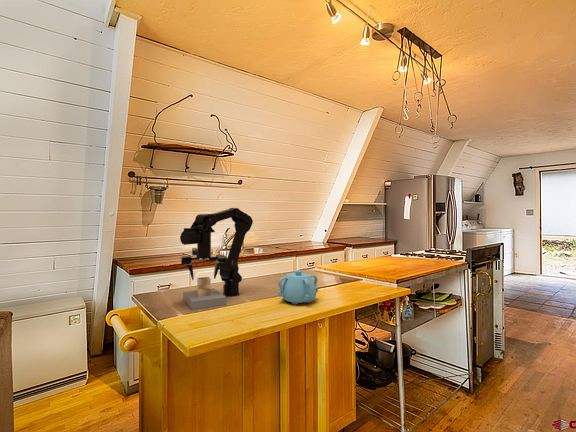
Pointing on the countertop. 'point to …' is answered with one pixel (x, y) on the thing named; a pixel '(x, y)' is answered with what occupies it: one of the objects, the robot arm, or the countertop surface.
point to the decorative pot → (298, 287)
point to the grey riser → (204, 299)
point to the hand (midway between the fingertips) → (203, 279)
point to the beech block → (204, 286)
